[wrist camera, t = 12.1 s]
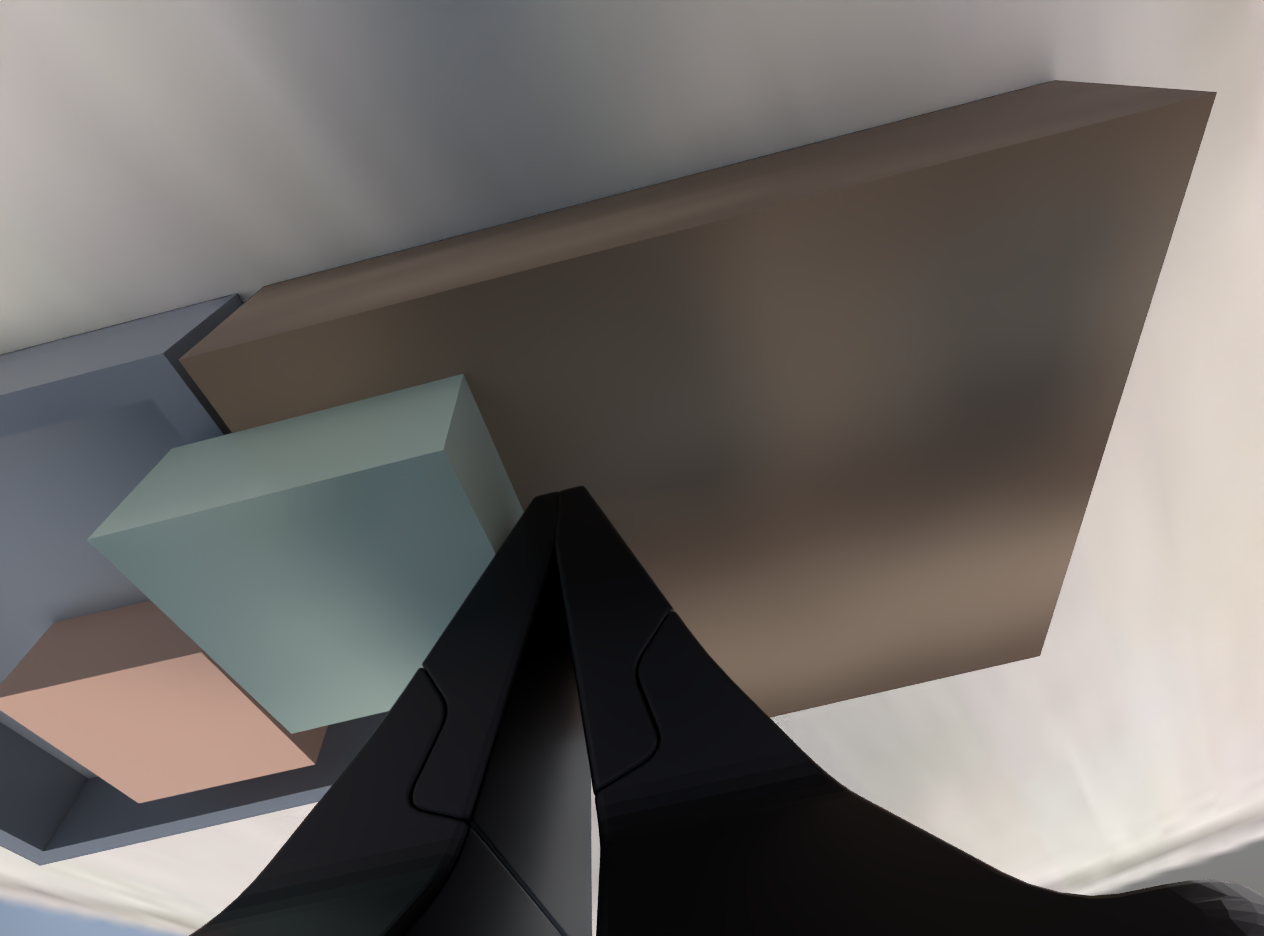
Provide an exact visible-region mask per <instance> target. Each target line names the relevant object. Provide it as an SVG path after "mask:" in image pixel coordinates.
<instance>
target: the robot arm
mask: <svg viewBox="0 0 1264 936" xmlns="http://www.w3.org/2000/svg"><path fill="white" fill-rule="evenodd" d="M422 666H423V668H419V669H418V670H417V671H416V673H415V674H414V676H413V677H412V679H411V680H410V682H409V683H408V685H407V686H406V688H405V689H404V691H403V692H402V693H401V695H400V696H399V698H398V699H397V700H396V702H395V703H394V705H393V706H392V707H391V709H390V710H389V712H388V713H387V715H386V716H385V717H384V719H383V720H382V722H381V723H380V724H379V726H378V727H377V728H376V730H375V731H374V732H373V734H372V735H371V736H370V737H369V739H368V740H367V741H366V743H365V744H364V745H363V747H362V748H361V749H360V750H359V752H358V753H357V754H356V756H355V757H354V758H353V759H352V761H351V762H350V763H349V765H348V766H347V767H346V768H345V770H344V771H343V772H342V773H341V775H340V776H339V777H338V778H337V780H336V781H335V782H334V783H333V784H332V786H331V787H330V788H329V789H328V791H327V792H326V793H325V794H324V796H323V797H322V798H321V799H320V801H319V802H318V803H317V804H316V806H315V807H314V808H313V809H312V811H311V812H310V813H309V814H308V816H307V817H306V818H305V819H304V821H303V822H302V823H301V824H300V825H299V827H298V828H297V829H296V830H295V832H294V833H293V834H292V835H291V837H290V838H289V839H288V840H287V842H286V843H285V844H284V845H283V847H282V848H281V849H280V850H279V852H278V853H277V854H276V855H275V857H274V858H273V859H272V860H271V861H270V863H269V864H268V865H267V866H266V867H265V869H264V870H263V871H262V872H261V873H260V874H259V876H258V877H257V878H256V879H255V880H254V881H253V882H252V883H251V884H250V885H249V886H248V887H247V888H246V889H245V890H244V891H243V892H242V893H241V895H240V896H239V897H238V898H236V899H235V900H234V901H233V902H232V903H231V904H230V905H229V906H228V907H226V908H225V909H224V910H223V911H222V912H221V913H220V914H218V915H217V916H216V917H214V918H213V919H212V920H210V921H209V922H208V923H207V924H205V925H204V926H203V927H201V928H200V929H198V930H197V931H195V932H194V933H192V934H191V935H189V936H592V886H591V780H592V786H593V792H594V795H595V804H596V811H597V818H598V826H599V837H600V870H599V890H598V910H597V930H596V936H1264V896H1263V895H1261V894H1259V893H1258V892H1256V891H1254V890H1252V889H1250V888H1248V887H1246V886H1243V885H1241V884H1238V883H1235V882H1230V881H1221V880H1194V881H1193V880H1192V881H1185V882H1178V883H1171V884H1165V885H1160V886H1155V887H1150V888H1145V889H1141V890H1135V891H1130V892H1125V893H1120V894H1110V895H1097V896H1087V895H1079V894H1070V893H1061V892H1057V891H1053V890H1050V889H1046V888H1042V887H1039V886H1035V885H1031V884H1028V883H1026V882H1024V881H1022V880H1019V879H1017V878H1015V877H1013V876H1010V875H1008V874H1006V873H1003V872H1002V871H1000V870H998V869H996V868H994V867H992V866H990V865H988V864H987V863H985V862H983V861H981V860H979V859H977V858H975V857H973V856H972V855H970V854H968V853H966V852H964V851H962V850H960V849H958V848H957V847H955V846H953V845H951V844H949V843H947V842H945V841H943V840H942V839H940V838H938V837H936V836H934V835H932V834H930V833H928V832H927V831H925V830H923V829H921V828H919V827H917V826H915V825H913V824H912V823H910V822H908V821H906V820H904V819H902V818H900V817H898V816H897V815H895V814H893V813H891V812H889V811H887V810H885V809H883V808H882V807H880V806H878V805H876V804H874V803H872V802H870V801H868V800H867V799H865V798H863V797H861V796H859V795H857V794H856V793H854V792H852V791H851V790H849V789H848V788H846V787H845V786H843V785H842V784H840V783H839V782H838V781H837V780H835V779H834V778H833V777H831V776H830V775H829V774H828V773H827V772H825V771H824V770H823V769H822V768H821V767H820V766H819V765H817V764H816V763H815V762H814V761H813V760H812V759H811V758H810V757H809V756H808V755H807V754H806V753H805V752H803V751H802V750H801V749H800V748H799V747H798V746H797V745H796V744H795V743H794V742H793V741H792V740H791V739H790V738H789V737H788V736H787V735H786V734H785V733H784V732H783V731H782V730H781V729H780V728H779V727H778V726H777V725H776V724H775V723H774V722H773V720H772V719H771V718H770V717H769V716H768V715H767V714H766V713H765V712H764V711H763V710H762V709H761V708H760V707H759V706H758V705H757V704H756V703H755V702H754V701H753V700H752V699H751V698H750V697H749V696H748V695H747V694H746V693H745V692H744V691H743V690H742V689H741V688H740V687H739V686H738V685H737V684H736V683H735V682H734V681H733V680H732V679H731V678H730V677H729V676H728V675H727V674H726V673H725V672H724V670H723V669H722V668H721V667H720V666H719V665H718V664H717V663H716V662H715V661H714V660H713V658H712V657H711V656H710V655H709V654H708V653H707V652H706V650H705V649H704V648H703V647H702V645H701V644H700V643H699V641H698V640H697V639H696V638H695V636H694V635H693V634H692V633H691V631H690V630H689V629H688V627H687V626H686V625H685V623H684V622H683V621H682V619H681V618H680V616H679V615H678V614H677V612H675V611H674V609H673V607H672V606H671V605H670V603H669V602H668V600H667V599H666V598H665V596H664V595H663V593H662V592H661V591H660V589H659V588H658V587H657V585H656V584H655V582H654V581H653V580H652V578H651V577H650V575H649V574H648V573H647V571H646V570H645V569H644V567H643V566H642V564H641V563H640V562H639V560H638V559H637V558H636V556H635V555H634V553H633V552H632V551H631V549H630V548H629V546H628V545H627V544H626V542H625V541H624V540H623V538H622V537H621V535H620V534H619V533H618V531H617V530H616V529H615V527H614V526H613V524H612V523H611V522H610V520H609V519H608V517H607V516H606V515H605V513H604V512H603V511H602V509H601V508H600V506H599V505H598V504H597V502H596V501H595V500H594V498H593V497H592V495H591V494H590V493H589V491H588V490H587V489H586V487H584V486H577V487H573V488H569V489H564V490H561V491H560V492H558V491H556V492H551V493H547V494H543V495H538V496H536V497H534V498H533V499H532V501H531V502H530V504H529V505H528V507H527V508H526V510H525V511H524V513H523V514H522V516H521V517H520V519H519V520H518V521H517V523H516V524H515V526H514V527H513V529H512V530H511V532H510V533H509V535H508V536H507V538H506V539H505V541H504V542H503V544H502V545H501V547H500V548H499V550H498V551H497V553H496V554H495V556H494V557H493V559H492V560H491V562H490V563H489V565H488V566H487V568H486V569H485V571H484V572H483V574H482V575H481V576H480V578H479V579H478V581H477V582H476V584H475V585H474V587H473V588H472V590H471V591H470V593H469V594H468V596H467V597H466V599H465V600H464V602H463V603H462V605H461V606H460V608H459V609H458V611H457V612H456V614H455V615H454V617H453V618H452V620H451V621H450V623H449V624H448V626H447V627H446V628H445V630H444V631H443V633H442V634H441V636H440V637H439V639H438V640H437V642H436V643H435V645H434V646H433V648H432V649H431V651H430V652H429V654H428V655H427V657H426V658H425V660H424V661H423V663H422Z"/></svg>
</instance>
